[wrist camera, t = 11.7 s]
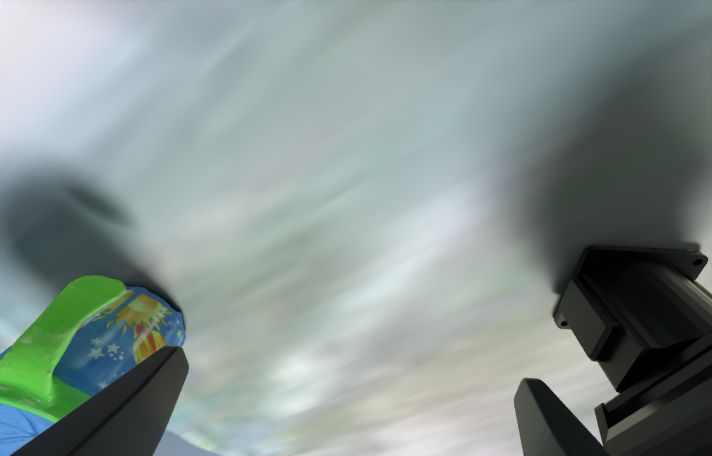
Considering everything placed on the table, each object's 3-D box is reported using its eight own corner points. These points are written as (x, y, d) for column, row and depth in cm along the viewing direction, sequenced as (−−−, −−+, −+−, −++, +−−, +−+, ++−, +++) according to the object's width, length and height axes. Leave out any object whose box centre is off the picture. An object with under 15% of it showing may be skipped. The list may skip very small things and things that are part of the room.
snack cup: (81, 213, 22) (-125, 332, 13) (230, 277, 24) (135, 420, 15) (75, 346, 30) (-58, 477, 21) (188, 387, 31) (109, 525, 23)
